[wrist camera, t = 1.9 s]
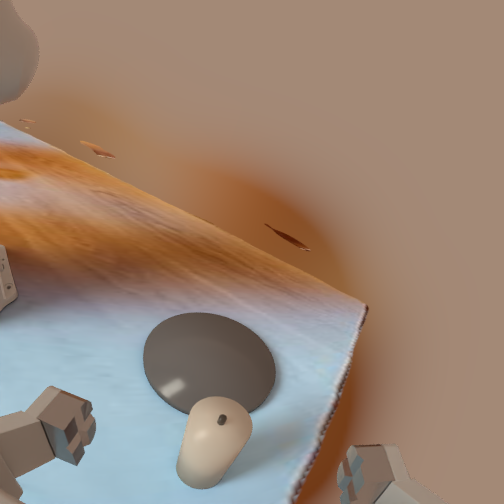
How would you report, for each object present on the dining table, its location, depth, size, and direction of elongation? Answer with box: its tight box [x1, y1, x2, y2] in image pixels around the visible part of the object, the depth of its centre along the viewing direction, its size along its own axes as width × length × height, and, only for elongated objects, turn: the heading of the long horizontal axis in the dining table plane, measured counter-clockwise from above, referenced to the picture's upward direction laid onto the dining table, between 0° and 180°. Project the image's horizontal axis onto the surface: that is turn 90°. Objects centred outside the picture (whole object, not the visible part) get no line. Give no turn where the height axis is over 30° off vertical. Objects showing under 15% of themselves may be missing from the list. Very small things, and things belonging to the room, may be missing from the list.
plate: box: [143, 313, 276, 415], centre depth 41 cm, size 18×18×1 cm
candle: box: [176, 396, 252, 489], centre depth 25 cm, size 5×5×13 cm
